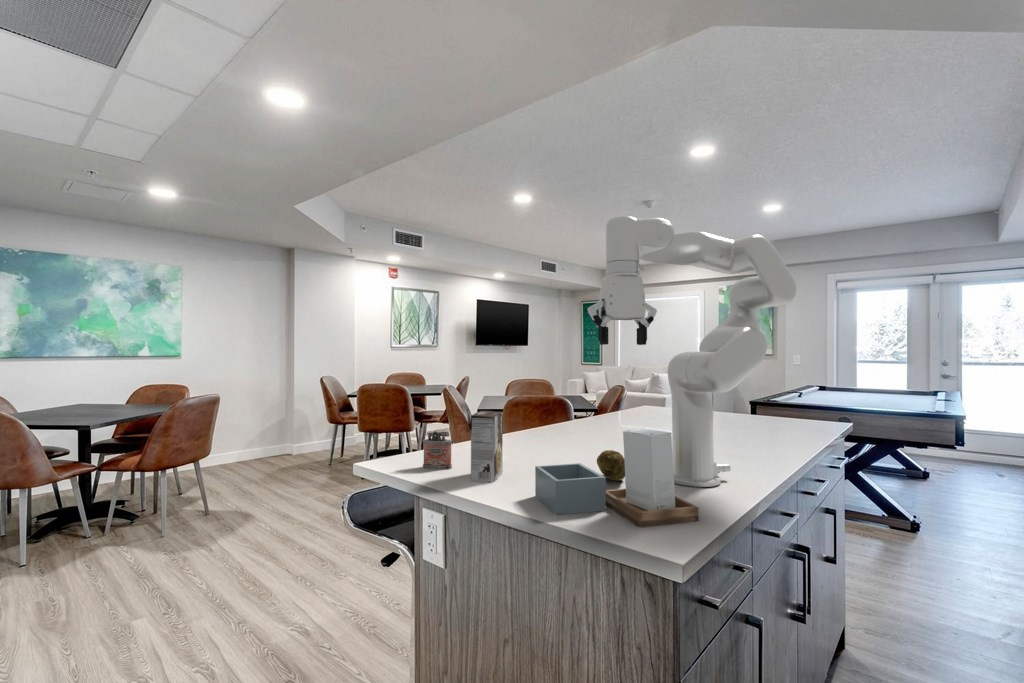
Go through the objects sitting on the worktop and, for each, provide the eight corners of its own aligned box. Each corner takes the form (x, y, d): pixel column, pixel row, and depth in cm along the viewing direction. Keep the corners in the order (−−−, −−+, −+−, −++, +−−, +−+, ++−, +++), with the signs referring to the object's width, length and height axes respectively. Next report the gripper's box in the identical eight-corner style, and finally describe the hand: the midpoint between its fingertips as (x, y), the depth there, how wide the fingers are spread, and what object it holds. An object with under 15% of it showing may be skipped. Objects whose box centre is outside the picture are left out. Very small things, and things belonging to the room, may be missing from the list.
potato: (635, 476, 120) (635, 445, 120) (622, 489, 109) (622, 454, 109) (603, 472, 124) (603, 442, 124) (587, 485, 112) (587, 451, 113)
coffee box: (479, 471, 125) (479, 410, 125) (503, 473, 124) (503, 411, 124) (469, 480, 116) (469, 414, 116) (495, 482, 115) (495, 415, 115)
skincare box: (676, 509, 91) (675, 432, 92) (652, 514, 89) (652, 435, 89) (645, 498, 99) (644, 426, 99) (622, 502, 96) (622, 428, 97)
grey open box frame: (580, 492, 106) (580, 463, 107) (605, 510, 94) (605, 477, 94) (535, 496, 104) (535, 466, 104) (555, 515, 91) (555, 481, 92)
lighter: (421, 468, 128) (421, 431, 129) (425, 465, 132) (425, 429, 132) (449, 469, 127) (449, 432, 127) (453, 466, 130) (453, 430, 131)
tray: (654, 497, 102) (654, 486, 102) (698, 520, 88) (698, 507, 88) (601, 502, 99) (601, 490, 99) (638, 527, 85) (638, 513, 85)
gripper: (646, 275, 116) (647, 345, 116) (581, 272, 112) (581, 344, 111) (664, 270, 109) (664, 344, 108) (595, 266, 104) (595, 344, 104)
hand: (622, 344), depth 110 cm, fingers open, 9 cm apart
